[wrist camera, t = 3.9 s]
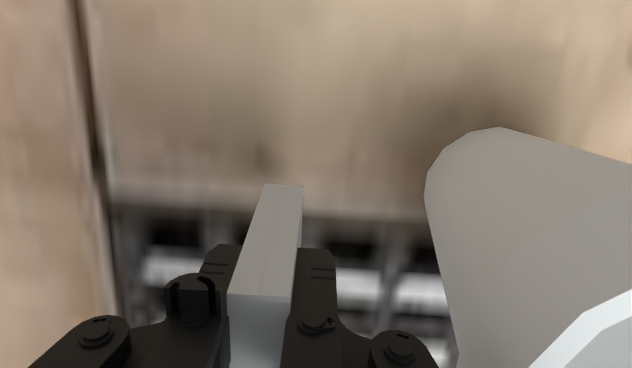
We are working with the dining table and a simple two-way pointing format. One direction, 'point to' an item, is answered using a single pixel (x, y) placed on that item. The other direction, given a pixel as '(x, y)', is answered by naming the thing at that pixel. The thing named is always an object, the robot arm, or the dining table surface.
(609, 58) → the dining table surface
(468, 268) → the foam cup
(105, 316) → the robot arm
